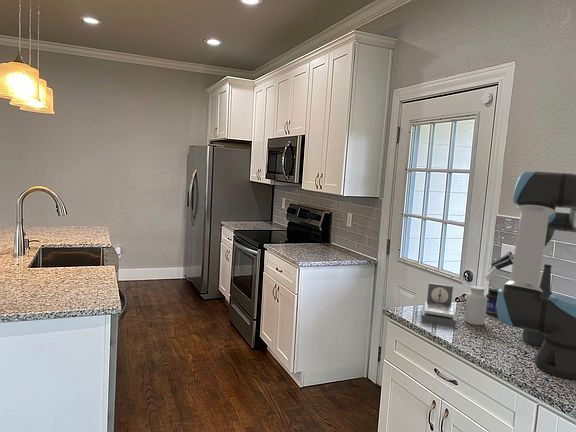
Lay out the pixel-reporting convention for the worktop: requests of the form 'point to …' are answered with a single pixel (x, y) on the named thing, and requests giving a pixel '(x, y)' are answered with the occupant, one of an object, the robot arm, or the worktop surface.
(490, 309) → the pill bottle
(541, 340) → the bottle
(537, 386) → the worktop surface
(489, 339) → the worktop surface
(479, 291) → the pill bottle
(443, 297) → the scale
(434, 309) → the gray flat rectangular slab
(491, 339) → the worktop surface
